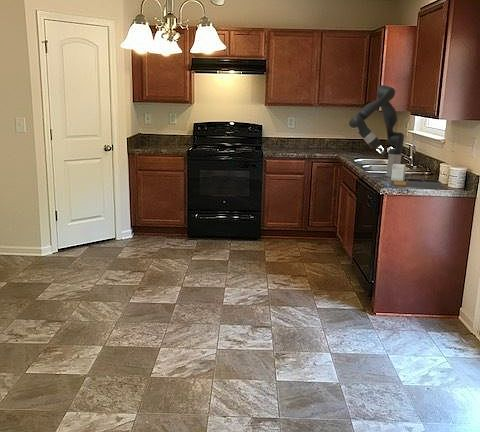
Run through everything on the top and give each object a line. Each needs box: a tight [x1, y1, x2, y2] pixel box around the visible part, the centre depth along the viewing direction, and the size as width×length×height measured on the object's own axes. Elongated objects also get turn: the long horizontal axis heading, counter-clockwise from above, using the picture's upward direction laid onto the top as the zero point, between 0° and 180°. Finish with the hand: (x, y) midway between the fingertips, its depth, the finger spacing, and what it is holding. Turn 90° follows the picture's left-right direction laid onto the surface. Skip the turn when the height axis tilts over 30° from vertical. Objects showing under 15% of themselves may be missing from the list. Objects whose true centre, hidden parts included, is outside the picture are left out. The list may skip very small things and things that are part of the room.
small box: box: [390, 163, 407, 181], centre depth 354 cm, size 8×6×13 cm
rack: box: [387, 177, 443, 190], centre depth 354 cm, size 12×34×4 cm, turn 83°
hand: (387, 157), depth 352 cm, fingers open, 8 cm apart
